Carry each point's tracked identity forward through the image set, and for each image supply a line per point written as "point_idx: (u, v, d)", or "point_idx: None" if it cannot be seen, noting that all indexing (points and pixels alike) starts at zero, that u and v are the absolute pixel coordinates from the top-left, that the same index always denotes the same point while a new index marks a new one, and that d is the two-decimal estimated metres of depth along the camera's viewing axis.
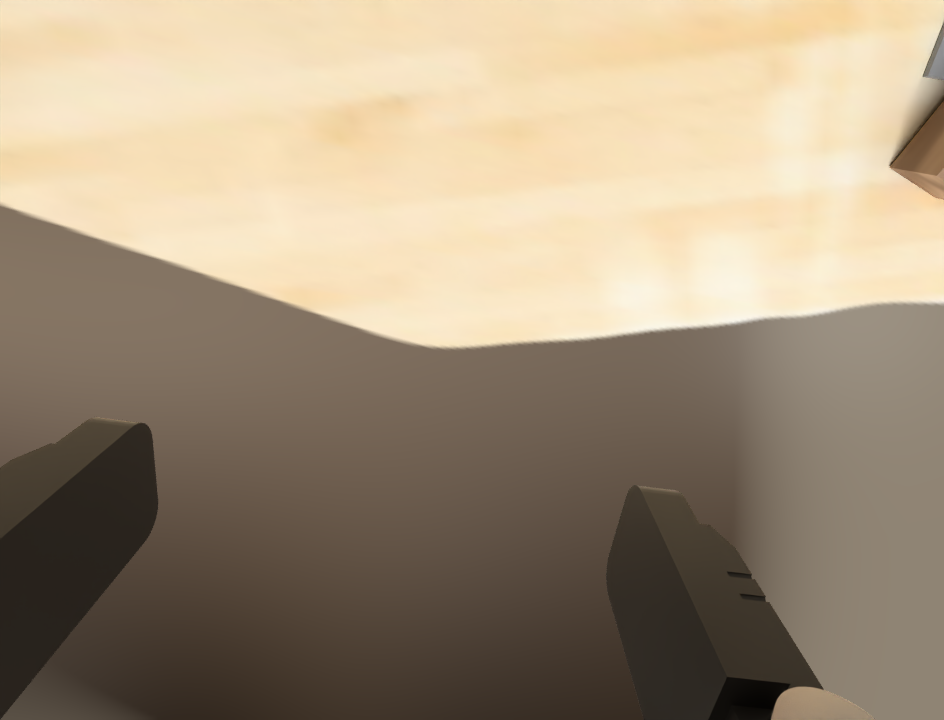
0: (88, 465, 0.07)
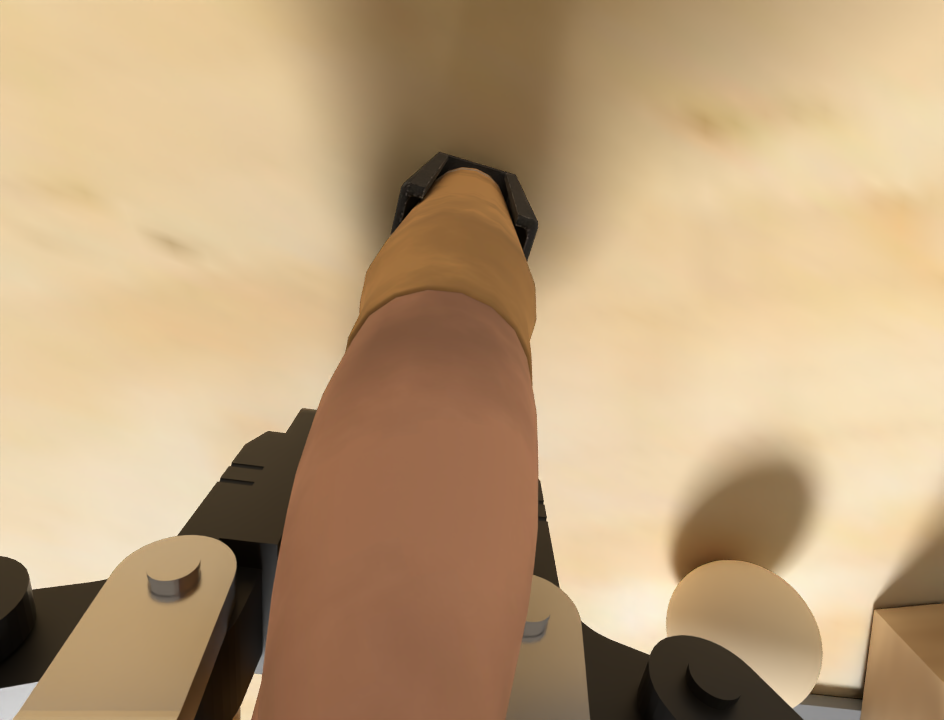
0: None
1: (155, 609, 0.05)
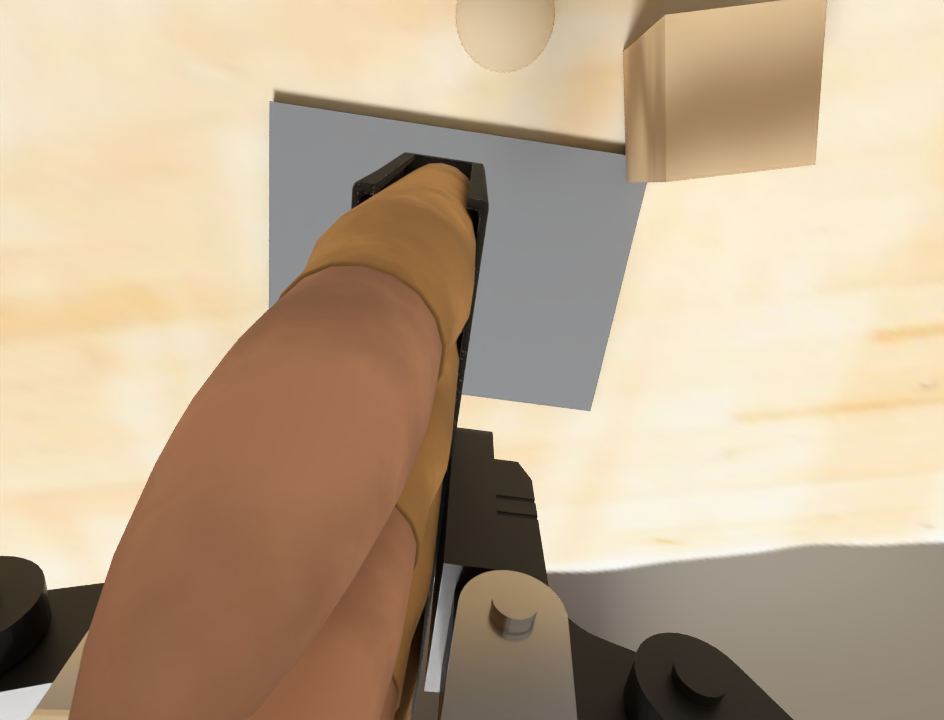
0: None
1: None
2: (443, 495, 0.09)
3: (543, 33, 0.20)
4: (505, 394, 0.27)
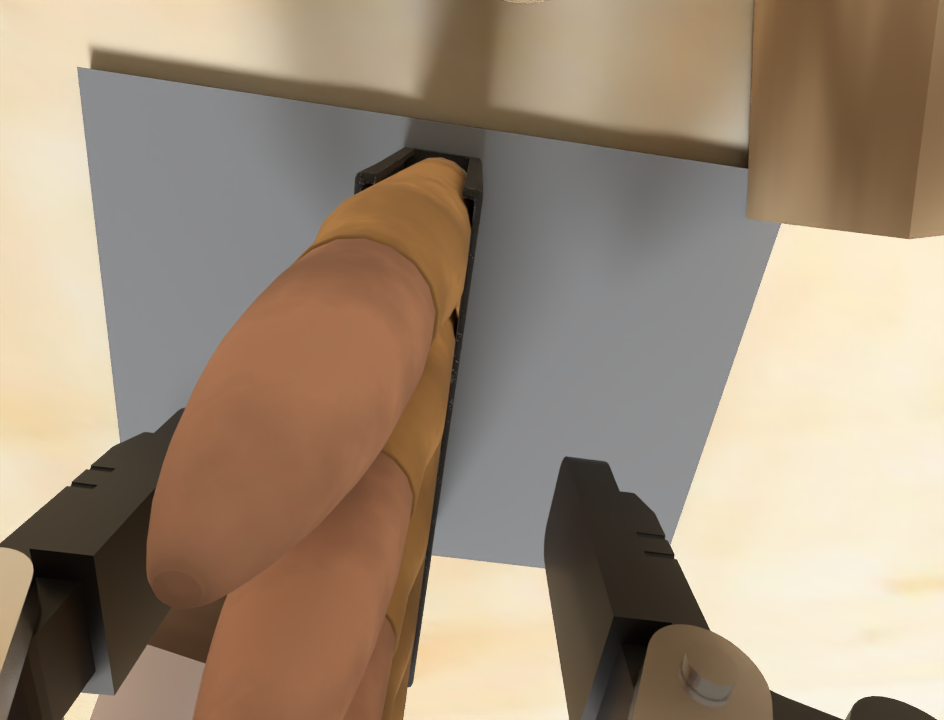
0: None
1: None
2: (440, 472, 0.10)
3: None
4: (520, 557, 0.17)
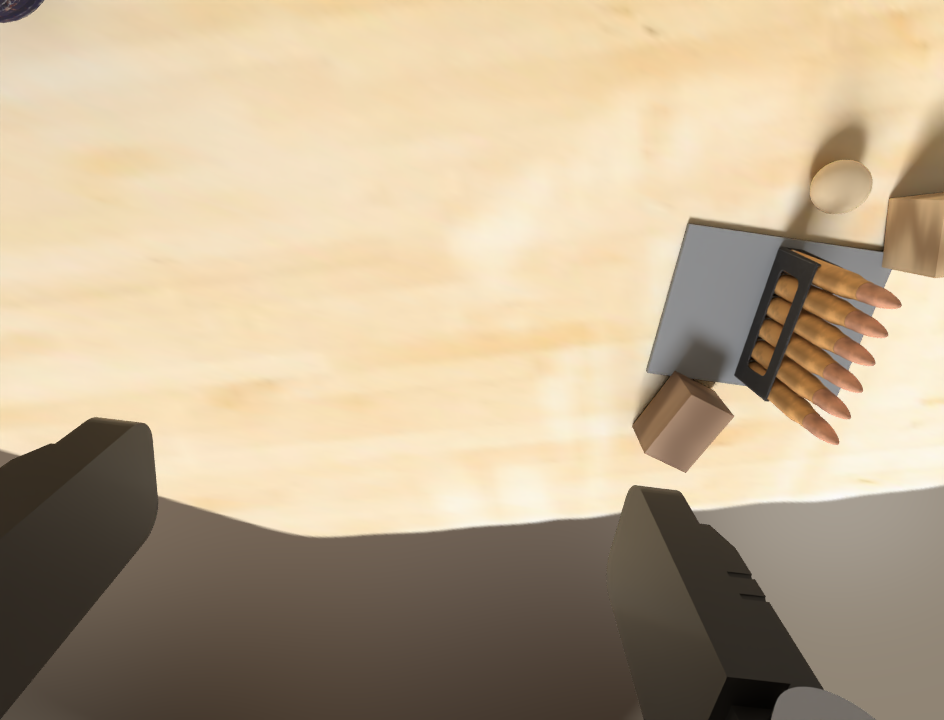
0: (88, 465, 0.07)
1: None
2: None
3: (865, 198, 0.38)
4: None
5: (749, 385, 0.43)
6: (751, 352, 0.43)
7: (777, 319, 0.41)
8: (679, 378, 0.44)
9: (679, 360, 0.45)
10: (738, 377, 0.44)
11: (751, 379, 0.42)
